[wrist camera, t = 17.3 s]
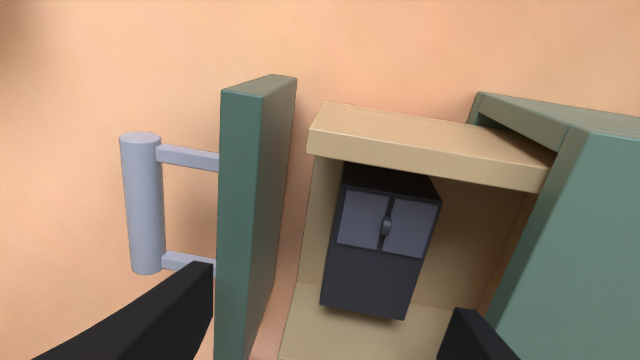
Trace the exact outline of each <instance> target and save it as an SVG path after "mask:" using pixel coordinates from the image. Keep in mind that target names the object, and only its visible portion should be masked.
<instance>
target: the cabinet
mask: <svg viewBox="0 0 640 360" xmlns="http://www.w3.org/2000/svg"><path fill="white" fill-rule="evenodd" d="M467 124H471V125H477V126H483V127H489V128H495V129H501V130H507V131H513V132H518V133H520V134H522V135H524V136H526V137H528V138H530V139H532V140H534V141H535V142H537V143H539V144H541V145H543V146H545V147H547V148H549V149H551V150H553V151H555V152H557V153H558V155H557V157H556V159H555V161H554V164H553V166H552V168H551V170H550V172H549V175H548V177H547V179H546V181H545V183H544V186H543V188H542V190H541V192H540V194H539V197H538V199H537V201H536V203H535V206H534V208H533V210H532V212H531V214H530V217H529V219H528V221H527V223H526V225H525V228H524V230H523V232H522V234H521V236H520V239H519V241H518V243H517V245H516V247H515V250H514V252H513V254H512V256H511V259H510V261H509V263H508V265H507V267H506V270H505V272H504V274H503V276H502V278H501V281H500V283H499V285H498V287H497V289H496V292H495V294H494V296H493V298H492V301H491V303H490V305H489V307H488V309H487V312H486V314H485V316H484V319H485V320H486V321H487V322H488V323H489V324H490V326H491V327H492V328H493V329H494V330H495V331H496V332H497V333H498V334H499V336H500V337H501V338H502V339H503V340H504V341H505V342H506V343H507V345H508V346H509V347H510V348H511V349H512V350H513V351H514V352H515V354H516V355H517V356H518V357H519V358H520V359H521V360H640V117H635V116H629V115H622V114H616V113H610V112H604V111H598V110H592V109H585V108H579V107H573V106H567V105H561V104H555V103H549V102H542V101H536V100H530V99H524V98H518V97H512V96H505V95H499V94H493V93H487V92H481V91H479V92H477V94H476V97H475V101H474V104H473V107H472V110H471V113H470V116H469V119H468V122H467Z"/></svg>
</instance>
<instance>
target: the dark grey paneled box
mask: <svg viewBox="0 0 640 360" xmlns="http://www.w3.org/2000/svg"><path fill="white" fill-rule="evenodd" d="M442 204H443V201H442V199H441V198H440V196H439V194H438V192H437V191H436V189H435V187H434V185H433V184H432V182H431V180H430V178H429V177H428V175H424V174H418V173H413V172H407V171H401V170H395V169H389V168H384V167H378V166H372V165H366V164H360V163H355V162H349V161H344V163H343V168H342V173H341V179H340V184H339V189H338V195H337V200H336V205H335V211H334V216H333V221H332V227H331V232H330V237H329V243H328V248H327V253H326V259H325V264H324V271H323V279H322V286H321V293H320V300H319V305H321V306H327V307H332V308H337V309H342V310H348V311H353V312H358V313H363V314H369V315H374V316H379V317H384V318H390V319H395V320H400V321H404V319H405V316H406V313H407V310H408V307H409V304H410V301H411V298H412V295H413V292H414V289H415V286H416V283H417V280H418V277H419V274H420V271H421V268H422V265H423V262H424V259H425V256H426V253H427V250H428V247H429V244H430V241H431V238H432V235H433V232H434V229H435V226H436V223H437V220H438V217H439V213H440V210H441V207H442Z"/></svg>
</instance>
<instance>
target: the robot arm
mask: <svg viewBox="0 0 640 360" xmlns="http://www.w3.org/2000/svg"><path fill="white" fill-rule="evenodd" d="M212 317H213V264H212V263H206V262H200V261H195V260H193V261H192V262H190V263H189V264H187V265H186V266H184V267H183V268H181V269H180V270H179V271H177V272H176V273H174V274H173V275H171V276H170V277H168V278H167V279H165V280H164V281H163V282H161V283H160V284H158V285H157V286H155V287H154V288H152V289H151V290H149V291H148V292H146V293H145V294H143V295H142V296H140V297H139V298H137V299H136V300H134V301H133V302H131V303H130V304H128V305H127V306H125V307H123V308H122V309H120V310H118V311H117V312H115V313H114V314H112V315H110V316H109V317H107V318H105V319H104V320H102V321H100V322H99V323H97V324H95V325H94V326H92V327H91V328H89V329H87V330H85V331H84V332H82V333H80V334H78V335H77V336H75V337H73V338H71V339H69V340H68V341H66V342H64V343H62V344H60V345H58V346H56V347H54V348H52V349H51V350H49V351H47V352H45V353H43V354H41V355H39V356H37V357H35V358H33V359H31V360H193V359H194V357H195V355H196V353H197V351H198V350H199V347H200V345H201V343H202V341H203V338H204V336H205V334H206V331H207V329H208V326H209V324H210V321H211V319H212ZM436 360H521V359H520V358H519V357H518V356H517V355H516V354H515V352H514V351H513V350H512V349H511V348H510V347H509V346H508V345H507V343H506V342H505V341H504V340H503V339H502V338H501V337H500V336H499V334H498V333H497V332H496V331H495V330H494V329H493V328H492V327H491V326H490V324H489V323H488V322H487V321H486V320H485V319H484V318H483V317H482V316H481V315H480V314H479V313H478V312H477V311H476V310H471V309H465V308H459V307H455V309H454V311H453V314H452V317H451V319H450V322H449V324H448V327H447V330H446V332H445V335H444V337H443V340H442V343H441V345H440V348H439V350H438V353H437V356H436Z"/></svg>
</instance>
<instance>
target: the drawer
mask: <svg viewBox="0 0 640 360" xmlns="http://www.w3.org/2000/svg"><path fill="white" fill-rule="evenodd" d="M296 89H297V78H295V77H289V76H282V75H276V74H270V75H267V76H263V77H260V78H257V79H254V80H251V81H247V82H244V83H241V84H238V85H235V86H231V87H228V88H225V89H222V90H221V105H220V141H219V153H215V152H209V151H204V150H198V149H192V148H186V147H181V146H175V145H169V144H161V137H160V136H159V135H157V134H154V133H150V132H129V133H125V134H122V135H120V137H119V144H120V154H121V164H122V175H123V185H124V196H125V206H126V217H127V227H128V238H129V248H130V259H131V268H132V270H133V272H135V273H136V274H139V275H151V274H155V273H157V272H159V271H161V270H162V269H168V270H174V271H179V270H180V269H181V268H183V267H184V266H186V265H187V264H189V263H190V262H192V261H193V260H195V261H200V262H206V263H212V264H213V278H216V283H215V318H214V354H213V360H248V358H249V356H250V353H251V350H252V347H253V344H254V341H255V338H256V335H257V332H258V329H259V326H260V324H261V321H262V318H263V315H264V312H265V309H266V306H267V303H268V300H269V297H270V294H271V292H272V289H273V286H274V279H275V270H276V262H277V253H278V244H279V236H280V227H281V218H282V210H283V201H284V192H285V184H286V175H287V166H288V158H289V149H290V140H291V132H292V123H293V115H294V106H295V97H296ZM305 154H308V155H314V156H315V159H314V166H313V173H312V180H311V186H310V193H309V200H308V207H307V213H306V220H305V227H304V233H303V240H302V247H301V254H300V260H299V267H298V274H297V281H296V285H295V289H294V293H293V297H292V301H291V305H290V309H289V313H288V317H287V321H286V324H285V328H284V332H283V336H282V340H281V344H280V348H279V352H278V356H277V360H436V356H437V353H438V350H439V348H440V345H441V343H442V340H443V337H444V335H445V332H446V330H447V327H448V324H449V322H450V319H451V317H452V314H453V311H454V309H455V307H459V308H465V309H471V310H476V311H477V312H478V313H479V314H480V315H481V316H482V317H483V318H484V316H485V314H486V312H487V309H488V307H489V305H490V303H491V301H492V298H493V296H494V294H495V292H496V289H497V287H498V285H499V283H500V281H501V278H502V276H503V274H504V272H505V270H506V267H507V265H508V263H509V261H510V259H511V256H512V254H513V252H514V250H515V247H516V245H517V243H518V241H519V239H520V236H521V234H522V232H523V230H524V228H525V225H526V223H527V221H528V219H529V217H530V214H531V212H532V210H533V208H534V206H535V203H536V201H537V199H538V197H539V194H540V192H541V190H542V188H543V186H544V183H545V181H546V179H547V177H548V175H549V172H550V170H551V168H552V166H553V164H554V161H555V159H556V157H557V155H558V153H557V152H555V151H553V150H551V149H549V148H547V147H545V146H543V145H541V144H539V143H537V142H535V141H534V140H532V139H530V138H528V137H526V136H524V135H522V134H520V133H518V132H513V131H507V130H501V129H495V128H489V127H483V126H477V125H471V124H465V123H459V122H453V121H446V120H440V119H434V118H428V117H422V116H416V115H410V114H404V113H398V112H392V111H386V110H380V109H374V108H368V107H362V106H356V105H350V104H344V103H338V102H332V101H326V100H325V101H324V103H323V104H322V106H321V108H320V110H319V111H318V113H317V115H316V117H315V118H314V120H313V122H312V123H311V125H310V127H309V129H308V134H307V142H306V149H305ZM344 161H349V162H355V163H360V164H366V165H372V166H378V167H384V168H389V169H395V170H401V171H407V172H413V173H418V174H424V175H428V177H429V178H430V180H431V182H432V184H433V185H434V187H435V189H436V191H437V192H438V194H439V196H440V198H441V199H442V201H443V204H442V207H441V210H440V213H439V217H438V220H437V223H436V226H435V229H434V232H433V235H432V238H431V241H430V244H429V247H428V250H427V253H426V256H425V259H424V262H423V265H422V268H421V271H420V274H419V277H418V280H417V283H416V286H415V289H414V292H413V295H412V298H411V301H410V304H409V307H408V310H407V313H406V316H405V319H404V321H400V320H395V319H390V318H384V317H379V316H374V315H369V314H363V313H358V312H353V311H348V310H342V309H337V308H332V307H327V306H321V305H319V300H320V293H321V286H322V279H323V271H324V264H325V259H326V253H327V248H328V243H329V237H330V232H331V227H332V221H333V216H334V211H335V205H336V200H337V195H338V189H339V184H340V179H341V173H342V168H343V163H344ZM162 163H167V164H173V165H179V166H184V167H190V168H196V169H201V170H207V171H213V172H218V173H219V176H218V212H217V247H216V259H213V258H207V257H202V256H197V255H191V254H186V253H181V252H175V251H170V250H167V251H166V238H165V215H164V192H163V169H162Z"/></svg>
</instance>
